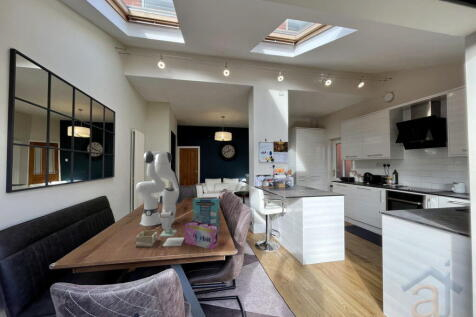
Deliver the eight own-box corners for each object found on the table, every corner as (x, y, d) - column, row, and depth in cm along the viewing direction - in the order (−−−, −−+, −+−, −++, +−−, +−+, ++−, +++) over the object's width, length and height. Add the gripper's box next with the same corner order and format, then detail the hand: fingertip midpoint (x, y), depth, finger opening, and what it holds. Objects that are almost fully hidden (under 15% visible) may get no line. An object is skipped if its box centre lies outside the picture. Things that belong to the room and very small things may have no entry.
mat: (168, 238, 143) (168, 237, 143) (184, 238, 144) (184, 237, 144) (162, 246, 129) (162, 245, 129) (180, 245, 130) (180, 245, 130)
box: (142, 240, 139) (143, 230, 139) (157, 239, 140) (157, 230, 140) (135, 247, 127) (136, 236, 128) (151, 246, 128) (151, 236, 128)
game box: (219, 231, 159) (219, 198, 159) (217, 234, 152) (218, 199, 153) (194, 230, 161) (195, 197, 161) (192, 233, 154) (192, 198, 155)
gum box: (219, 245, 131) (220, 225, 132) (213, 250, 124) (213, 228, 124) (192, 239, 142) (192, 220, 142) (184, 243, 135) (184, 223, 135)
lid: (164, 231, 140) (164, 226, 140) (176, 231, 141) (177, 225, 141) (159, 236, 130) (159, 231, 130) (173, 236, 130) (173, 230, 131)
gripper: (168, 208, 146) (168, 226, 145) (160, 215, 125) (159, 236, 125) (177, 207, 146) (176, 226, 146) (170, 214, 126) (169, 236, 126)
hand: (168, 231), depth 135 cm, fingers closed on lid, 2 cm apart
